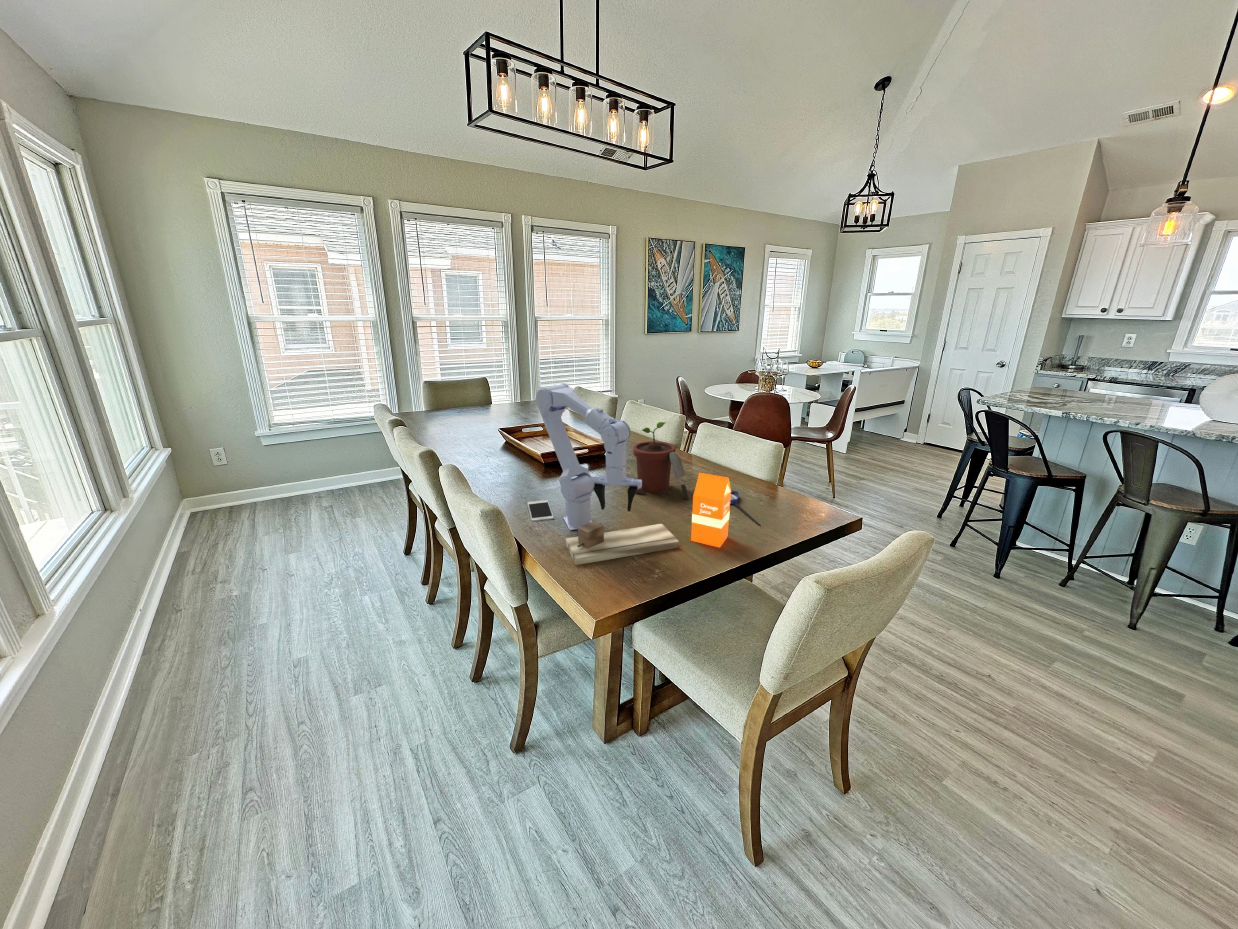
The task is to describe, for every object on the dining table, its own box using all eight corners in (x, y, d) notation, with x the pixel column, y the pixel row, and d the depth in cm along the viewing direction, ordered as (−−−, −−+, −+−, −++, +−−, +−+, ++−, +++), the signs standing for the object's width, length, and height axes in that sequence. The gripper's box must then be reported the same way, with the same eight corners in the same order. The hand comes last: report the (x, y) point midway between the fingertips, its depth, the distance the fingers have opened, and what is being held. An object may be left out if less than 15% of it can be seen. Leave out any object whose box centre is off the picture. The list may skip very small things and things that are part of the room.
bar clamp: (707, 490, 172) (732, 487, 174) (707, 496, 173) (732, 494, 175) (752, 533, 142) (782, 529, 145) (751, 540, 143) (781, 536, 146)
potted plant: (671, 478, 189) (674, 416, 181) (689, 499, 169) (692, 431, 161) (627, 481, 186) (628, 418, 178) (640, 503, 166) (641, 433, 158)
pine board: (565, 544, 138) (565, 538, 137) (661, 529, 147) (661, 523, 146) (575, 565, 127) (575, 558, 126) (678, 547, 136) (678, 541, 135)
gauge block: (594, 536, 138) (594, 521, 137) (603, 541, 135) (603, 525, 134) (573, 546, 133) (572, 529, 131) (583, 551, 130) (582, 534, 129)
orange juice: (719, 547, 136) (724, 482, 130) (690, 540, 140) (693, 476, 134) (728, 536, 142) (732, 473, 136) (699, 530, 147) (703, 468, 140)
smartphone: (547, 502, 168) (547, 499, 168) (554, 520, 154) (554, 517, 154) (527, 504, 167) (527, 501, 166) (531, 523, 152) (531, 520, 152)
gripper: (643, 461, 137) (642, 505, 141) (593, 459, 139) (594, 502, 143) (640, 469, 130) (639, 515, 134) (588, 466, 132) (589, 511, 137)
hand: (616, 509), depth 138 cm, fingers open, 7 cm apart
